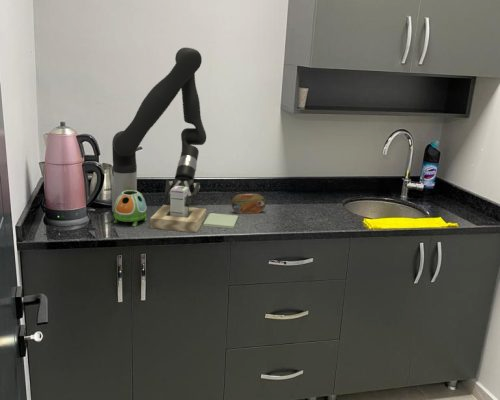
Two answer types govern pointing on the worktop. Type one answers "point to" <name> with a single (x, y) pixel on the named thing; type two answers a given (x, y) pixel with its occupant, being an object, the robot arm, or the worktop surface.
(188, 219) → the socket block
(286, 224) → the worktop surface
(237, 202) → the tin
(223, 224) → the mat
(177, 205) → the syrup box
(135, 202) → the turtle holder
